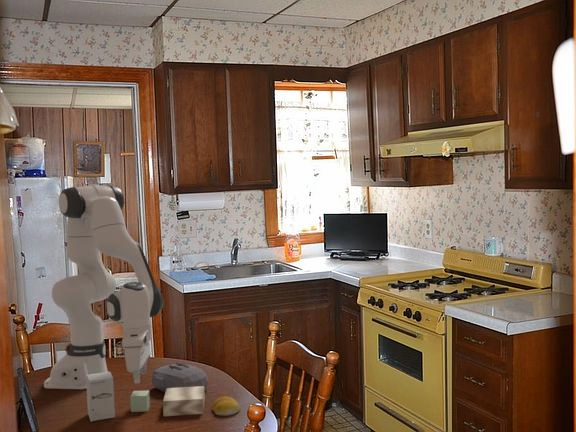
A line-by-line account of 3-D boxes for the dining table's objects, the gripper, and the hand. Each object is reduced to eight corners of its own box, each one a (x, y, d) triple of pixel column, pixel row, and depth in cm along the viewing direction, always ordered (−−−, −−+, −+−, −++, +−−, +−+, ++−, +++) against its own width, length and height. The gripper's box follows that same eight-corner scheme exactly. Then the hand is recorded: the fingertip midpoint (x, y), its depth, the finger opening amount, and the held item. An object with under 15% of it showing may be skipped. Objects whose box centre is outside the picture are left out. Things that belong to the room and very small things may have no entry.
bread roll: (217, 418, 190) (216, 405, 190) (210, 408, 199) (209, 396, 199) (243, 414, 193) (243, 401, 193) (235, 404, 202) (235, 392, 201)
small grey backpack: (146, 390, 218) (185, 402, 205) (145, 366, 217) (184, 376, 205) (179, 378, 229) (218, 388, 217) (178, 355, 229) (217, 365, 216)
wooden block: (163, 417, 193) (162, 401, 193) (167, 403, 205) (166, 388, 205) (203, 414, 194) (202, 398, 194) (204, 401, 206) (204, 386, 206)
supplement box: (90, 422, 190) (88, 381, 189) (87, 414, 196) (85, 374, 196) (115, 418, 193) (113, 377, 192) (112, 410, 199) (110, 370, 199)
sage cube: (131, 412, 197) (130, 396, 197) (134, 406, 202) (133, 391, 202) (147, 411, 198) (146, 395, 197) (150, 405, 203) (149, 390, 202)
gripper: (134, 327, 208) (136, 369, 209) (120, 343, 188) (123, 389, 189) (153, 326, 209) (156, 367, 209) (141, 342, 188) (144, 387, 189)
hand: (140, 378), depth 199 cm, fingers open, 8 cm apart
